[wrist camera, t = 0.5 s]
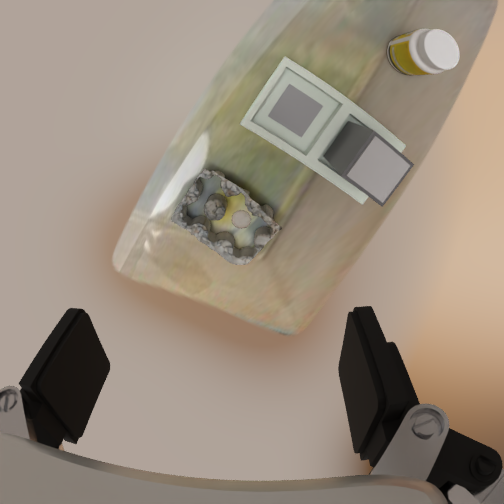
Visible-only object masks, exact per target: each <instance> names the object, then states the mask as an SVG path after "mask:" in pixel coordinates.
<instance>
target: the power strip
mask: <svg viewBox="0 0 504 504" xmlns="http://www.w3.org/2000/svg"><path fill="white" fill-rule="evenodd" d="M348 121H350V122H353V123H356V124H358V125H361V126H364V127H367V128H369V129H372V130H374V131H375V132H377V133H378V134H379V135H380V136H382V137H383V138H384V139H385V140H386V141H388V142H389V143H390V144H391V145H392V146H393V147H395V148H396V149H397V150H398V151H399V152H400V153H401V152H402V151H403V150H404V148H405V147H406V145H405V144H404V143H402V142H401V141H400V140H399V139H398V138H397V137H396V136H394V135H393V134H392V133H391V132H390V131H389V130H387V129H386V128H385V127H384V126H383V125H381V124H380V123H379V122H378V121H376V120H375V119H374V118H373V117H372V116H370V115H369V114H368V113H366V112H365V111H364V110H363V109H361V108H360V107H359V106H357V105H356V104H355V103H353V102H352V101H351V100H349V99H348V98H347V97H345V96H344V95H343V94H341V93H340V92H338V91H337V90H336V89H334V88H333V87H331V86H330V85H329V84H327V83H326V82H324V81H323V80H321V79H320V78H318V77H317V76H315V75H314V74H312V73H311V72H309V71H308V70H306V69H305V68H303V67H301V66H300V65H298V64H297V63H295V62H293V61H292V60H290V59H289V58H287V57H284V58H283V60H282V61H281V62H280V64H279V65H278V67H277V68H276V70H275V71H274V73H273V74H272V75H271V77H270V78H269V80H268V81H267V83H266V84H265V86H264V87H263V89H262V90H261V92H260V93H259V95H258V96H257V98H256V99H255V101H254V102H253V104H252V105H251V107H250V108H249V110H248V112H247V113H246V115H245V116H244V118H243V119H242V121H241V122H240V125H242V126H244V127H245V128H247V129H249V130H250V131H252V132H254V133H255V134H257V135H259V136H260V137H262V138H264V139H265V140H267V141H269V142H270V143H272V144H273V145H275V146H277V147H278V148H280V149H281V150H283V151H285V152H286V153H288V154H289V155H291V156H292V157H294V158H295V159H297V160H299V161H300V162H302V163H303V164H305V165H306V166H308V167H309V168H311V169H312V170H314V171H315V172H317V173H318V174H320V175H321V176H322V177H324V178H325V179H327V180H328V181H330V182H331V183H333V184H334V185H335V186H337V187H338V188H340V189H341V190H343V191H344V192H345V193H347V194H348V195H350V196H351V197H352V198H354V199H355V200H356V201H358V202H359V203H361V204H362V205H363V204H364V202H365V201H366V200H367V198H368V197H369V196H368V195H366V194H365V193H364V192H362V191H361V190H360V189H358V188H357V187H356V186H354V185H353V184H352V183H350V182H349V181H347V180H346V179H345V178H343V177H342V176H341V175H340V174H339V173H338V172H337V171H336V170H335V169H334V168H333V166H332V165H331V164H330V163H329V162H328V161H327V160H326V159H325V158H324V157H323V155H324V154H325V153H326V151H327V150H328V148H329V147H330V146H331V144H332V143H333V141H334V140H335V139H336V137H337V136H338V134H339V133H340V132H341V130H342V129H343V127H344V126H345V125H346V123H347V122H348Z"/></svg>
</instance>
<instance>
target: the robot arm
mask: <svg viewBox="0 0 504 504" xmlns="http://www.w3.org/2000/svg"><path fill="white" fill-rule="evenodd" d="M109 371H110V362H109V360H108V358H107V356H106V354H105V351H104V349H103V347H102V345H101V343H100V341H99V338H98V336H97V334H96V331H95V329H94V327H93V324H92V322H91V319H90V317H89V315H88V314H87V313H86V312H85V311H84V310H83V309H77V308H70V309H68V310H67V311H66V313H65V314H64V315H63V317H62V318H61V320H60V321H59V323H58V324H57V325H56V327H55V328H54V330H53V331H52V333H51V334H50V335H49V337H48V339H47V340H46V341H45V343H44V344H43V346H42V348H41V349H40V350H39V352H38V354H37V355H36V357H35V358H34V360H33V361H32V363H31V364H30V366H29V368H28V369H27V371H26V372H25V374H24V376H23V377H22V379H21V381H20V382H19V384H20V386H21V387H22V389H21V390H19V389H18V388H17V387H14V386H7V387H4V388H3V389H1V390H0V504H504V470H503V469H502V460H501V457H500V455H499V454H498V453H497V451H495V450H494V449H492V448H490V447H488V446H486V445H484V444H482V443H479V442H477V441H475V440H473V439H471V438H469V437H467V436H464V435H462V434H460V433H458V432H456V431H454V430H452V429H450V428H449V420H448V417H447V415H446V413H445V412H444V411H443V410H442V409H440V408H439V407H437V406H435V405H431V404H420V403H419V401H418V398H417V395H416V393H415V390H414V388H413V385H412V383H411V380H410V378H409V375H408V372H407V370H406V368H405V365H404V363H403V360H402V358H401V355H400V353H399V351H398V348H397V346H396V345H395V343H394V342H386V339H385V337H384V334H383V332H382V330H381V327H380V325H379V322H378V320H377V318H376V315H375V313H374V311H373V309H372V307H371V306H365V307H355V308H354V310H353V312H349V313H348V317H347V323H346V329H345V335H344V341H343V346H342V351H341V356H340V361H339V377H340V382H341V387H342V391H343V396H344V401H345V406H346V411H347V416H348V421H349V426H350V432H351V437H352V442H353V448H354V452H355V453H360V458H361V460H367V459H369V462H370V466H372V467H373V469H372V471H371V472H370V473H369V475H356V476H345V477H332V478H322V479H307V480H282V481H239V480H218V479H205V478H194V477H184V476H176V475H168V474H161V473H155V472H149V471H143V470H137V469H133V468H127V467H123V466H118V465H114V464H109V463H105V462H101V461H97V460H93V459H90V458H86V457H82V456H78V455H75V454H72V453H69V452H66V451H64V448H63V445H62V441H63V439H64V440H65V441H67V442H71V443H74V444H77V441H78V439H79V438H80V437H82V435H83V433H84V430H85V428H86V425H87V423H88V420H89V418H90V415H91V413H92V410H93V408H94V406H95V403H96V401H97V399H98V396H99V394H100V392H101V389H102V387H103V384H104V382H105V380H106V378H107V375H108V373H109Z"/></svg>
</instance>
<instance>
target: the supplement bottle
mask: <svg viewBox="0 0 504 504" xmlns="http://www.w3.org/2000/svg"><path fill="white" fill-rule="evenodd" d="M387 55H388V59H389V61H390V63H391V65H392V66H393V67H394V68H395V69H396V70H397V71H398V72H400V73H402V74H405V75H425V74H439V73H441V72H443V71H445V70H449V69H452V68H454V67H455V66H456V65H457V63H458V61H459V56H460V54H459V48H458V45H457V43H456V41H455V40H454V39H453V37H452V36H451V35H450V34H448V33H447V32H445V31H443V30H440V29H432V30H430V29H418V30H415V31H412V32H409V33H406V34H403V35H400V36H397V37H395V38H393V39H392V40H391V41H390V43H389V45H388V48H387Z"/></svg>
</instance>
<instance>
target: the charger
mask: <svg viewBox="0 0 504 504" xmlns="http://www.w3.org/2000/svg"><path fill="white" fill-rule="evenodd" d="M323 157H324V158H325V159H326V160H327V161H328V162H329V163H330V164H331V165H332V166H333V168H334V169H335V170H336V171H337V172H338V173H339V174H340V175H341V176H342V177H343V178H345V179H346V180H347V181H349V182H350V183H352V184H353V185H354V186H356V187H357V188H358V189H360V190H361V191H362V192H364V193H365V194H366V195H368V196H369V197H370V198H372V199H373V200H374V201H375V202H377V203H378V204H379V205H381V206H383V205H384V204H385V203H386V201H387V200H388V199H389V197H390V196H391V195H392V193H393V192H394V191H395V189H396V188H397V187H398V185H399V184H400V183H401V181H402V180H403V179H404V177H405V176H406V175H407V173H408V172H409V171H410V169H411V168H412V166H413V165H414V164H413V163H412V162H410V161H409V160H408V159H407V158H406V157H405V156H404V155H403V154H401V153H400V152H399V151H398V150H397V149H396V148H395V147H393V146H392V145H391V144H390V143H389V142H388V141H386V140H385V139H384V138H383V137H382V136H380V135H379V134H378V133H377V132H375V131H374V130H372V129H369V128H367V127H364V126H361V125H358V124H356V123H353V122H350V121H348V122H347V123H346V125H345V126H344V127H343V129H342V130H341V132H340V133H339V134H338V136H337V137H336V139H335V140H334V141H333V143H332V144H331V146H330V147H329V148H328V150H327V151H326V153H325V154H324V155H323Z"/></svg>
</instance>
